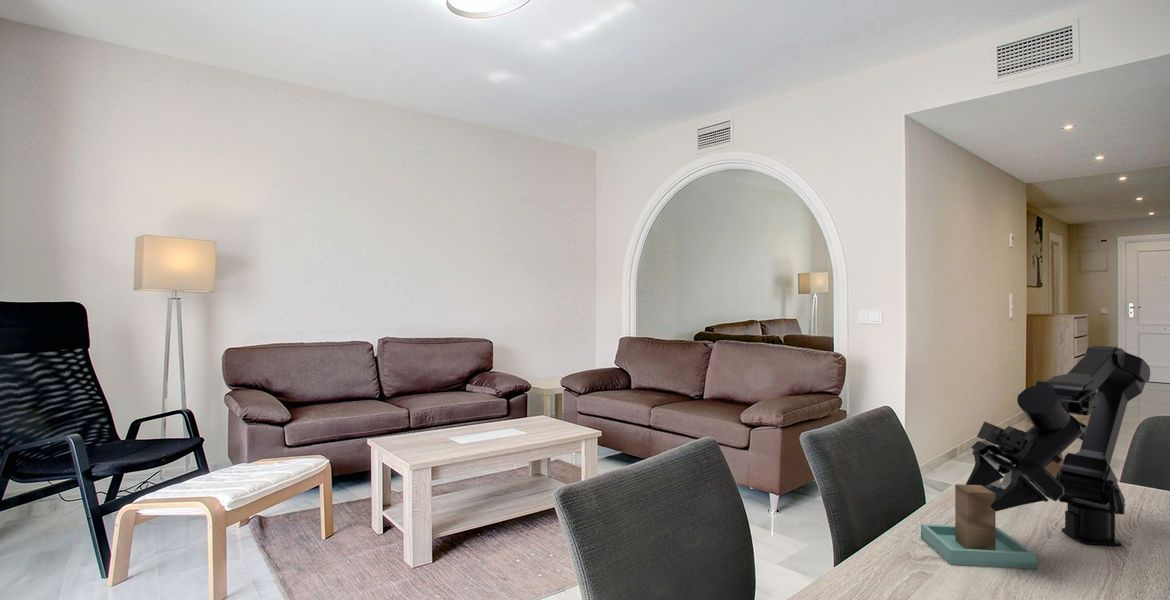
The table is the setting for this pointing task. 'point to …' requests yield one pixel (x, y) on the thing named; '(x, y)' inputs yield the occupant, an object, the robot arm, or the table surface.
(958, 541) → the tall brown wood pillar
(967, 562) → the tray
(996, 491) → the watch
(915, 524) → the table surface
